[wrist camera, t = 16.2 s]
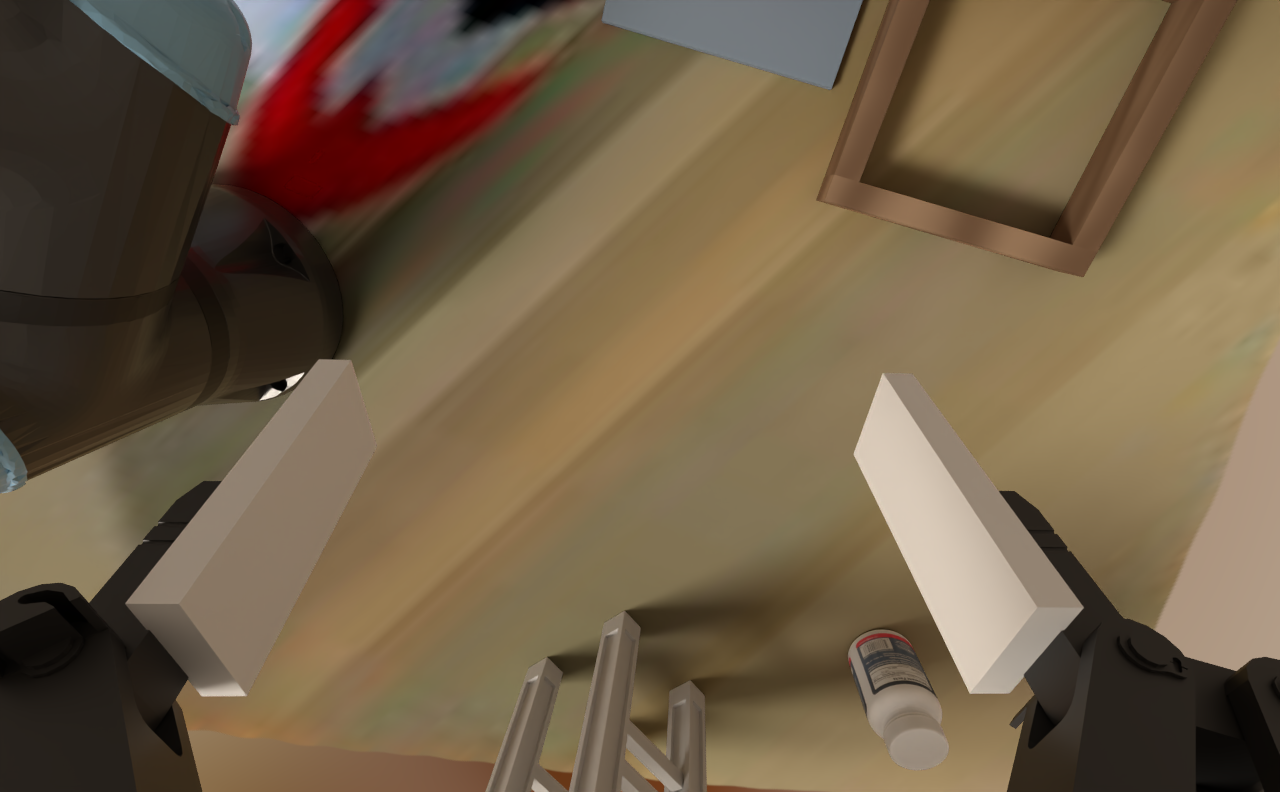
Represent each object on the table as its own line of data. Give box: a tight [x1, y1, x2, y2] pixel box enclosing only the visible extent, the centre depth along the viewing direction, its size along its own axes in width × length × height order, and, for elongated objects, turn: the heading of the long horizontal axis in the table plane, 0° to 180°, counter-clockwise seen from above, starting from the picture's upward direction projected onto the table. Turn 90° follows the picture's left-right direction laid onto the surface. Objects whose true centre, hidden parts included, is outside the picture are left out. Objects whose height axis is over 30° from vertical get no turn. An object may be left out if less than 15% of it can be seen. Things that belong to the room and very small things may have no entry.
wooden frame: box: [816, 0, 1237, 277], centre depth 32 cm, size 16×16×2 cm
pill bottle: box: [848, 630, 949, 770], centre depth 43 cm, size 5×5×9 cm
